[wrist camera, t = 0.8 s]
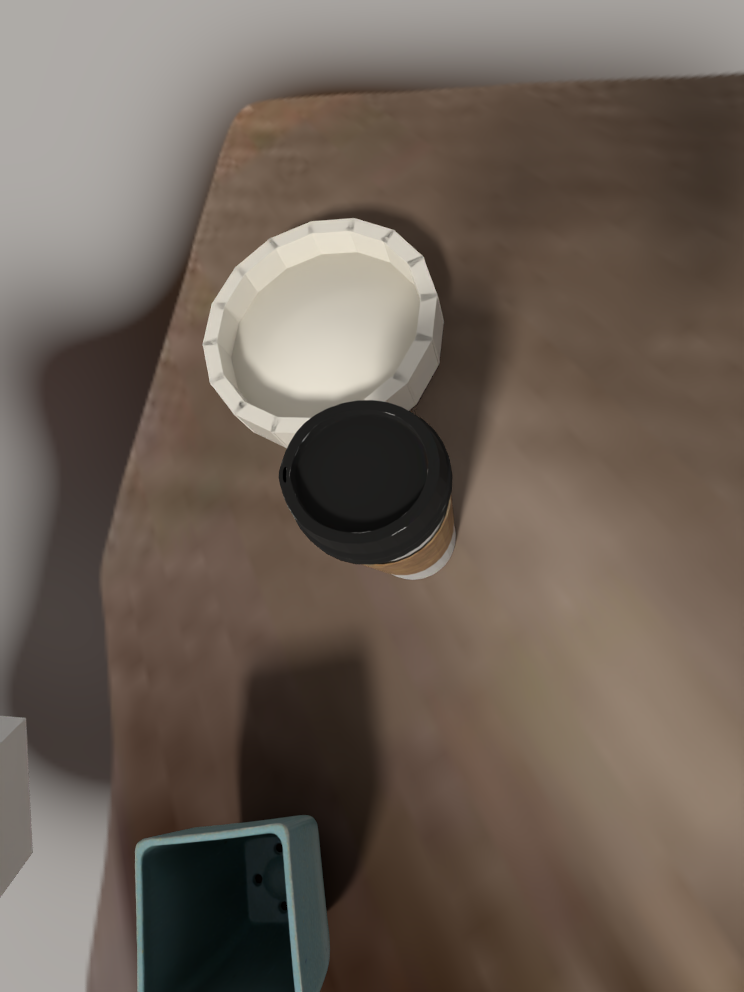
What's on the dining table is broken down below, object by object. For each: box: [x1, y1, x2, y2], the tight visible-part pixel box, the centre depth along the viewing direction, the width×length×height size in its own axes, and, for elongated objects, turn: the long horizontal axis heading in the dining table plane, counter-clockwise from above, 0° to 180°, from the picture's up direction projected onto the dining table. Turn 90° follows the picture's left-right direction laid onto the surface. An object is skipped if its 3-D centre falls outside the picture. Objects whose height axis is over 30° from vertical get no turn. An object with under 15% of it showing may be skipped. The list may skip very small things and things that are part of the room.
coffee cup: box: [279, 400, 456, 580], centre depth 35 cm, size 8×8×15 cm
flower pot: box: [135, 815, 330, 992], centre depth 34 cm, size 9×9×9 cm
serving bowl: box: [203, 218, 444, 448], centre depth 47 cm, size 18×18×4 cm
